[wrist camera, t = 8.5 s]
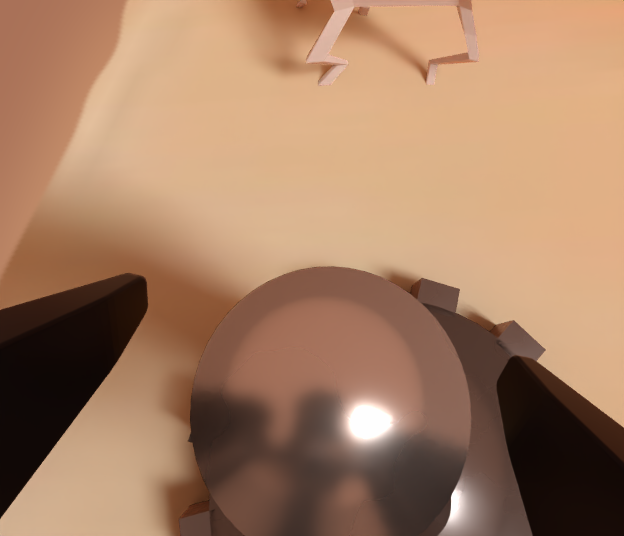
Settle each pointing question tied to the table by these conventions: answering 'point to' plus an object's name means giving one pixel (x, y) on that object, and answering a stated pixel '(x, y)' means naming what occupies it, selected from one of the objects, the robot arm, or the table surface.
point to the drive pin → (330, 409)
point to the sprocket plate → (483, 436)
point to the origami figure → (345, 3)
